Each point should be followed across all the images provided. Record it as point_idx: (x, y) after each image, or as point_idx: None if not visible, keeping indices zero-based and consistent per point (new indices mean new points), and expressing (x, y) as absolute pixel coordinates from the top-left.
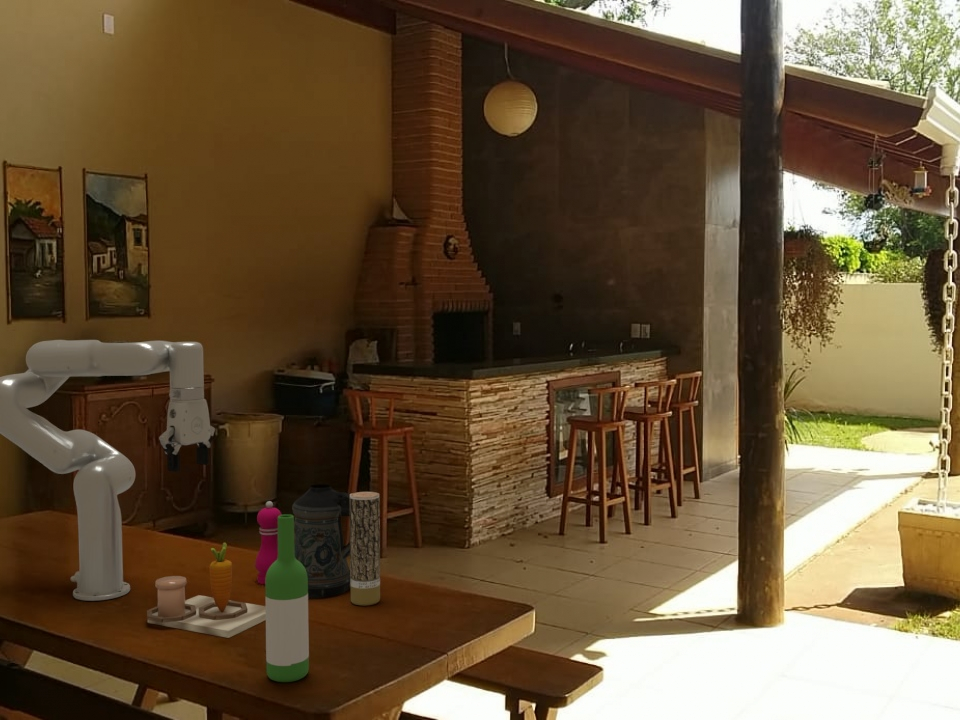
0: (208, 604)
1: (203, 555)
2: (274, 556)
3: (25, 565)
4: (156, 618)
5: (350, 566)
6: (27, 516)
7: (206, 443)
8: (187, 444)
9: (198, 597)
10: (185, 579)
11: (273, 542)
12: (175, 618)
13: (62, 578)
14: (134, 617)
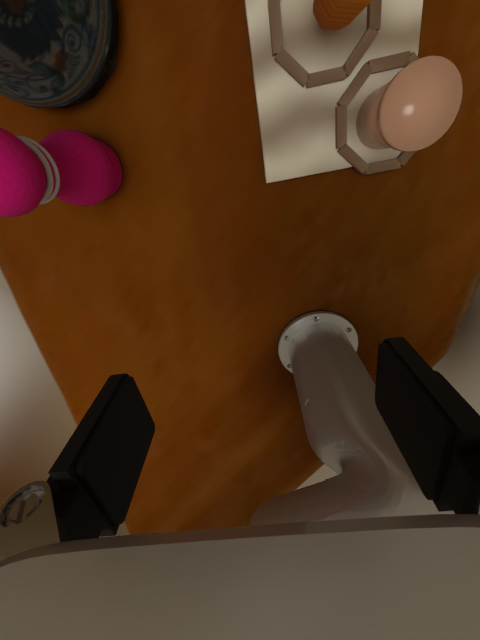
0: (319, 79)
1: None
2: (67, 137)
3: (283, 482)
4: None
5: None
6: None
7: (39, 529)
8: (459, 517)
9: (277, 169)
10: (402, 73)
11: (44, 144)
12: None
13: (295, 425)
14: (385, 205)
